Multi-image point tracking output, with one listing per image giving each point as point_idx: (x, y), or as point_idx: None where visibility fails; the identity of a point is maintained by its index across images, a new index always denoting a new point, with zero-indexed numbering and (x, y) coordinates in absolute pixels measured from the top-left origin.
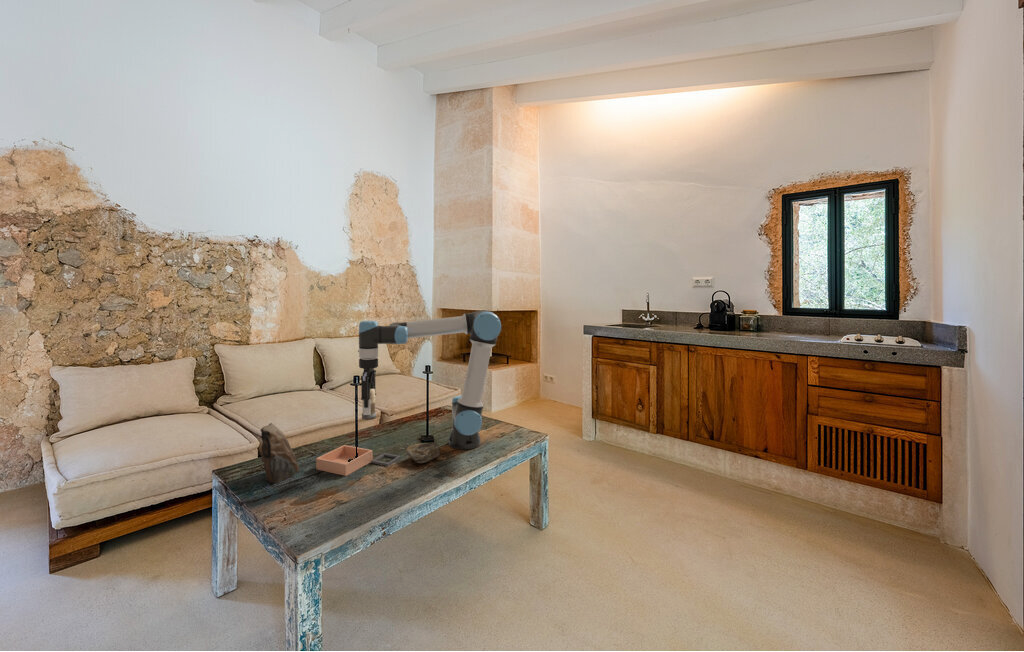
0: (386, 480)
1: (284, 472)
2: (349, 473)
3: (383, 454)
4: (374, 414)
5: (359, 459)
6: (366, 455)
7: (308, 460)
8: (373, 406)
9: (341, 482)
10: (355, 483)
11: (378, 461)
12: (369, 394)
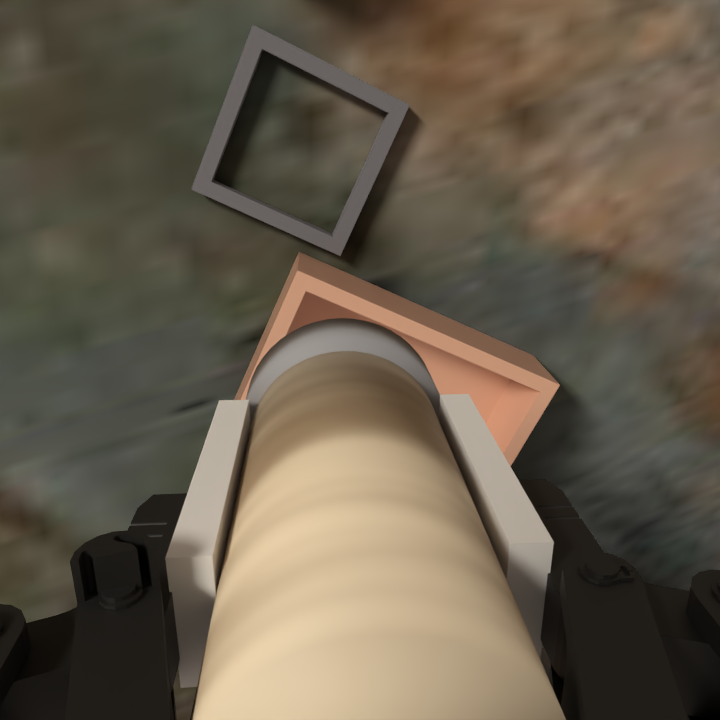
0: (648, 55)
1: (547, 672)
2: (509, 345)
3: (219, 190)
4: (382, 344)
5: (436, 326)
6: (365, 296)
7: None
8: (405, 411)
9: (619, 352)
10: (650, 263)
11: (358, 195)
12: (604, 644)
